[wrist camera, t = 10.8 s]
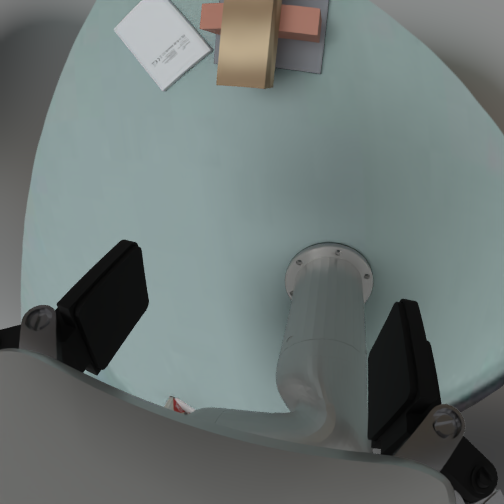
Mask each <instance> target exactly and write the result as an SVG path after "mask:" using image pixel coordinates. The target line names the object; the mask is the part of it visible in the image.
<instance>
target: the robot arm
mask: <svg viewBox="0 0 504 504" xmlns="http://www.w3.org/2000/svg"><path fill="white" fill-rule="evenodd" d="M338 250H339V251H338ZM285 287H286V291H287V293H288V295H289V297H290V299H291V300H292V301H291V306H290V310H289V315H288V320H287V324H286V329H285V333H284V338H283V342H282V346H281V351H280V355H279V359H278V364H277V369H276V384H277V389H278V391H279V394H280V396H281V398H282V399H283V401H284V403H285V404H286V406H287V407H288V409H289V410H290V411H291V412H290V413H276V412H275V413H267V412H256V411H245V410H236V409H226V408H202V409H198V410H195V411H193V412H191V413H190V414H188V415H185V414H182V413H179V412H176V411H173V410H171V409H168V408H165V407H162V406H159V405H157V404H154V403H151V402H149V401H146V400H144V399H141V398H139V397H136V396H134V395H131V394H129V393H126V392H124V391H122V390H119V389H117V388H115V387H112V386H110V385H108V384H106V383H104V382H101V381H99V380H97V379H95V378H93V377H91V376H88V375H86V374H84V373H83V372H84V371H85V369H86V370H87V371H89V372H91V373H93V374H95V375H98V374H99V372H100V371H101V369H102V370H104V369H105V368H106V367H107V366H108V364H109V363H110V361H111V360H112V358H113V357H114V355H115V354H116V352H117V351H118V349H119V348H120V346H121V345H122V344H123V342H124V341H125V339H126V338H127V336H128V335H129V333H130V332H131V331H132V329H133V328H134V326H135V325H136V324H137V322H138V321H139V319H140V318H141V316H142V315H143V314H144V312H145V311H146V309H147V307H148V304H149V299H148V293H147V286H146V280H145V273H144V265H143V258H142V250H141V248H140V247H138V244H137V243H136V242H132V241H128V240H121V241H120V242H119V243H118V244H117V245H116V246H115V247H113V248H112V249H111V250H110V251H109V252H108V253H107V254H106V255H105V256H104V257H103V258H102V259H101V260H100V261H99V262H98V263H97V264H96V265H95V266H93V267H92V268H91V269H90V270H89V271H88V272H87V273H86V274H85V275H84V276H83V277H82V278H81V279H80V280H79V281H78V282H77V283H76V284H75V285H74V286H73V287H72V288H71V289H70V290H69V291H68V292H67V293H66V295H65V296H64V297H63V298H62V299H61V300H60V301H59V302H58V303H57V306H58V308H57V309H56V310H54V309H53V308H52V307H50V306H48V305H39V306H36V307H33V308H32V309H30V310H29V311H28V312H27V313H26V314H25V315H24V317H23V319H22V322H21V325H17V326H13V327H10V328H6V329H2V330H0V504H504V496H503V494H502V492H501V490H498V491H497V490H496V485H497V480H498V477H497V472H496V469H495V467H494V466H493V464H492V463H491V462H490V461H489V460H488V459H487V458H486V457H485V456H484V455H483V454H482V453H480V452H479V451H478V450H477V449H476V448H475V447H474V446H473V445H472V444H471V443H470V442H469V441H468V440H467V439H466V438H465V437H464V436H463V435H464V432H465V421H464V418H463V416H462V414H461V413H460V412H459V411H458V410H457V409H456V408H455V407H453V406H451V405H448V404H441V398H440V391H439V385H438V379H437V374H436V368H435V363H434V358H433V353H432V348H431V345H430V342H429V341H427V339H426V335H425V330H424V326H423V322H422V318H421V314H420V310H419V306H418V303H417V302H416V301H412V300H407V299H401V300H400V302H395V303H394V305H393V307H392V310H391V312H390V314H389V316H388V318H387V320H386V322H385V324H384V326H383V328H382V330H381V332H380V334H379V336H378V338H377V340H376V342H375V343H374V345H373V347H372V349H371V351H370V354H369V357H368V404H367V365H366V332H365V313H364V303H365V302H366V301H367V300H368V298H369V296H370V295H371V292H372V288H373V275H372V271H371V268H370V265H369V264H368V262H367V260H366V259H365V258H364V257H363V256H362V255H361V254H360V253H358V252H357V251H356V250H354V249H352V248H350V247H348V246H345V245H341V244H335V243H323V244H317V245H313V246H310V247H308V248H306V249H304V250H302V251H301V252H300V253H298V254H297V255H296V256H295V257H294V258H293V259H292V261H291V262H290V264H289V266H288V268H287V272H286V276H285ZM373 448H378V449H381V454H373Z"/></svg>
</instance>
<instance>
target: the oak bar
mask: <svg viewBox="0 0 504 504" xmlns="http://www.w3.org/2000/svg"><path fill="white" fill-rule="evenodd" d="M281 5H282V0H224V4H223V14H222V24H221V35H220V46H219V58H218V71H217V85H225V86H239V87H251V88H261V89H266V88H272V87H273V82H274V72H275V63H276V53H277V44H278V34H279V25H280V15H281Z"/></svg>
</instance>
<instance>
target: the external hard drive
mask: <svg viewBox="0 0 504 504" xmlns="http://www.w3.org/2000/svg"><path fill="white" fill-rule="evenodd" d="M114 31H115V32H116V33H117V35H118V36H119V37H120V38H121V40H122V41H123V42H124V43H125V45H126V46H127V47H128V48H129V50H130V51H131V52H132V53H133V55H134V56H135V57H136V58H137V60H138V61H139V62H140V63H141V65H142V66H143V67H144V68H145V70H146V71H147V72H148V73H149V75H150V76H151V77H152V79H153V80H154V81H155V82H156V84H157V85H158V86H159V88H160V89H161V90H162V91H166V90H167V89H168V88H169V87H170V86H172V85H173V84H174V83H175V82H176V81H177V80H178V79H179V78H181V77H182V76H183V75H184V73H185V72H187V71H188V70H189V69H190V68H192V67H193V66H195V65H196V64H197V63H198V62H200V61H201V60H202V59H203V58H205V57H206V56H207V55H208V54H210V53H211V52H212V51H213V49H212V48H211V47H210V46H209V45H208V44H207V42H206V41H205V40H204V39H203V37H202V36H201V35H200V34H199V33H198V31H197V30H196V29H195V28H194V27H193V26H192V24H191V23H190V22H189V21H188V20H187V19H186V18H185V17H184V15H183V14H182V13H181V12H180V11H179V10H178V9H177V8H176V7H175V5H174V4H173V3H172V2H171V1H170V0H142V1H141V2H140V3H139V4H137V5H136V6H135V7H134V8H133V9H132V10H131V12H129V13H128V14H127V16H126V17H125V18H124V19H123V20H122V21H121V22H120V23H119V24H118V25H117V26H116V27H115V29H114Z"/></svg>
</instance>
